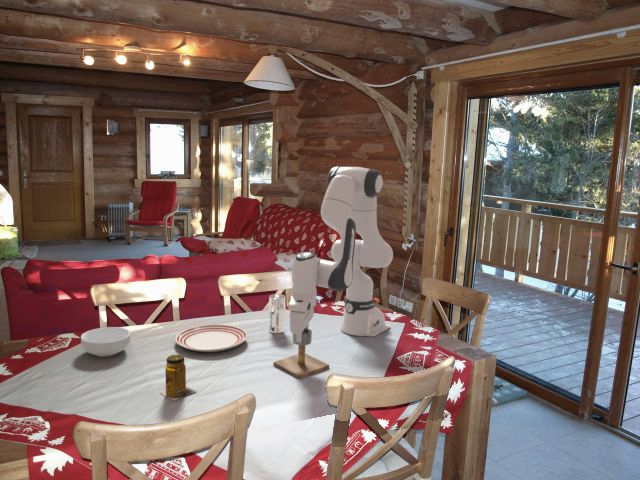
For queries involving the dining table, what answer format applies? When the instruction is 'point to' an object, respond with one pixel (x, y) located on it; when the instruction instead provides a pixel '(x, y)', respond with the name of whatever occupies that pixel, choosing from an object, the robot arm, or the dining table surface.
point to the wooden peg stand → (301, 364)
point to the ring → (304, 337)
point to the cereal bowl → (105, 341)
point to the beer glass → (276, 312)
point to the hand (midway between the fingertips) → (302, 337)
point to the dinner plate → (211, 337)
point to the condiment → (176, 378)
